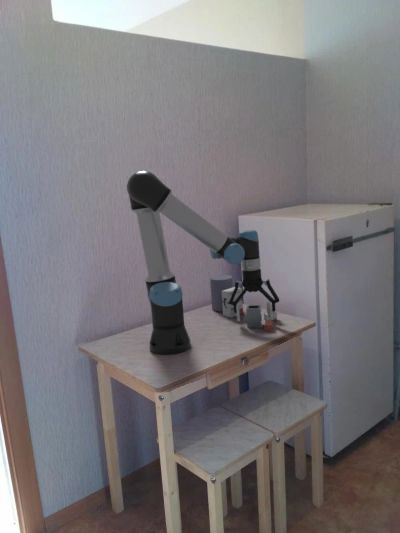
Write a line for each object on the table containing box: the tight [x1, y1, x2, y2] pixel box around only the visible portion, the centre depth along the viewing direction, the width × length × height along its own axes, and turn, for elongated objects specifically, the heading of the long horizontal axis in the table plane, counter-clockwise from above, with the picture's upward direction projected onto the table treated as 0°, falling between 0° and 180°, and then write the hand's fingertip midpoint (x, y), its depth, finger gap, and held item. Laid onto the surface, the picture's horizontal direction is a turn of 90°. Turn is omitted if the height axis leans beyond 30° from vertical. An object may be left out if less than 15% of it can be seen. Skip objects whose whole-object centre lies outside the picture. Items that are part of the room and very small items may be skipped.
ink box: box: [222, 286, 244, 318], centre depth 210 cm, size 9×5×12 cm, turn 133°
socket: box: [245, 304, 263, 329], centre depth 193 cm, size 6×6×8 cm
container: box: [209, 274, 234, 312], centre depth 220 cm, size 10×10×15 cm
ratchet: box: [263, 300, 278, 333], centre depth 193 cm, size 5×18×8 cm, turn 168°
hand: (255, 319), depth 193 cm, fingers open, 13 cm apart
